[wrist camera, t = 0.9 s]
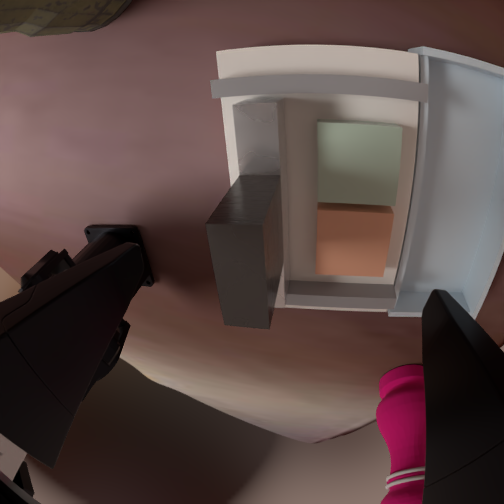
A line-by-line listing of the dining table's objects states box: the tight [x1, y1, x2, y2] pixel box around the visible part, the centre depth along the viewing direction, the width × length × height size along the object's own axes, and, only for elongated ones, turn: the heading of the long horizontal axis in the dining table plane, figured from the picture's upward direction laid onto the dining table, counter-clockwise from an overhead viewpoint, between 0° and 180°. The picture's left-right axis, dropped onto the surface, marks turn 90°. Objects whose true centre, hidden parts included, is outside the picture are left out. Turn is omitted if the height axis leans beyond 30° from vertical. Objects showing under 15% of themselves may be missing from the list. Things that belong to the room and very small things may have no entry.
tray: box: [387, 46, 504, 320], centre depth 17 cm, size 8×19×4 cm, turn 4°
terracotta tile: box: [315, 202, 394, 277], centre depth 18 cm, size 4×4×1 cm
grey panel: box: [205, 97, 290, 329], centre depth 15 cm, size 2×12×8 cm, turn 4°
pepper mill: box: [376, 364, 426, 504], centre depth 22 cm, size 7×7×20 cm
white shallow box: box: [210, 45, 428, 312], centre depth 18 cm, size 11×18×4 cm, turn 4°
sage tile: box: [317, 119, 402, 206], centre depth 15 cm, size 4×4×1 cm
